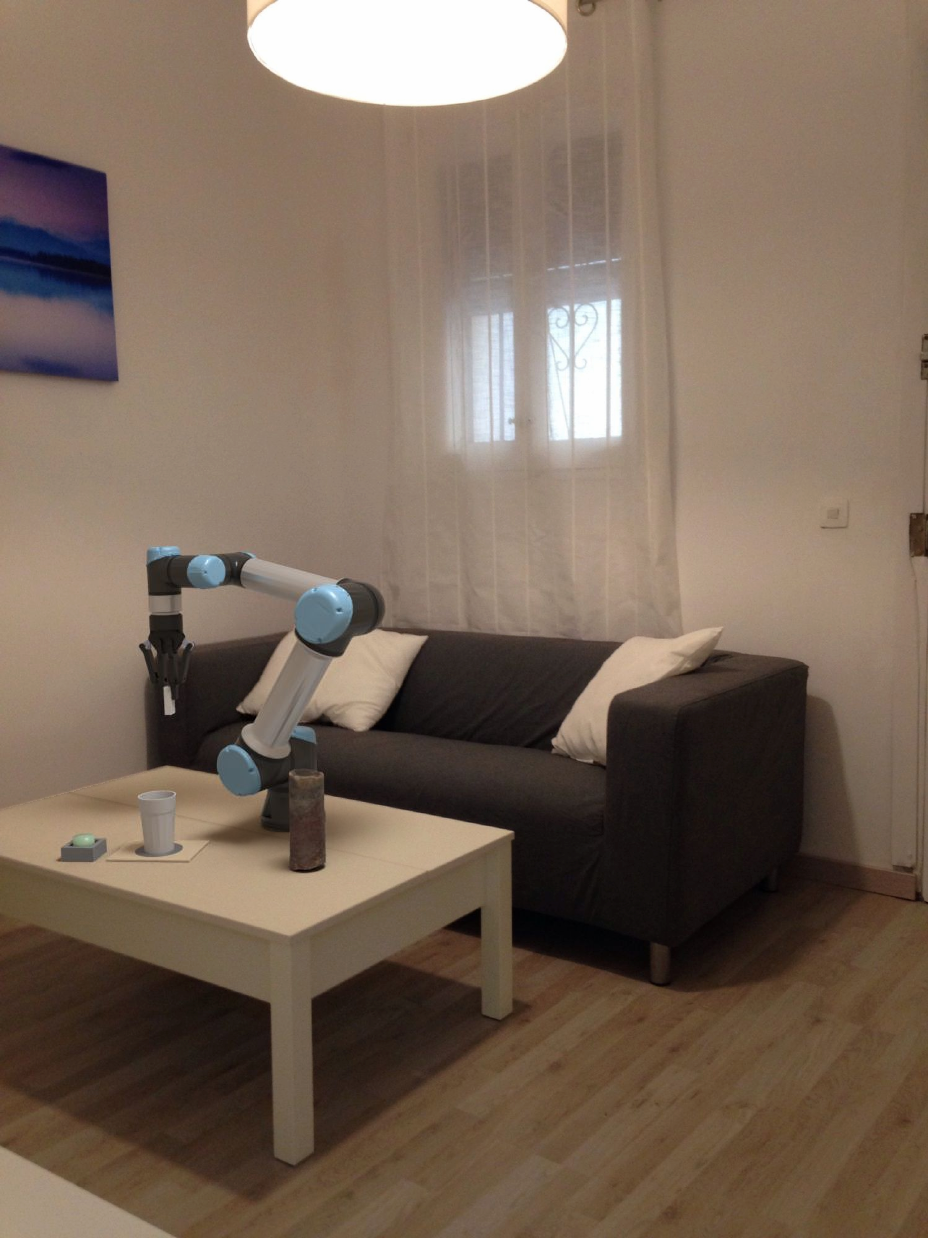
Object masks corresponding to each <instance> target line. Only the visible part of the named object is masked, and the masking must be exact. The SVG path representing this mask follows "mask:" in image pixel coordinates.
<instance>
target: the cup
mask: <svg viewBox="0 0 928 1238" xmlns="http://www.w3.org/2000/svg"><path fill="white" fill-rule="evenodd" d="M137 801H138V802H137V803H138V808H139V813H140V820H141V829H142V837H143V840H144V852H146V853H149V854H161V853H167V852H170V851H172V850H174V840H175V826H176V825H175V824H176V804H177V803H176V801H177V792H175V791H172V790H152V791H146V792H143V793H140V794H139V795H137Z"/></svg>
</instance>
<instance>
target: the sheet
mask: <svg viewBox="0 0 928 1238" xmlns="http://www.w3.org/2000/svg"><path fill="white" fill-rule="evenodd" d="M210 843H211V841H210V840H183V839H182V840H178V839H177V840H175V839H174V850H172V851H170V852H167V853H161V854H149V853H146V852H144V839H131V840H129V841H128V842H127V843H125V844H124V845H122V846H121V847H120V848H119V849H117V850H116V851H115V852H113V853H112V854H111V855H110V856H108V857H107V858H106V859H105V862H122V863H123V862H125V863H127V862H130V863H131V862H133V863H138V862H139V863H141V862H142V863H190V862H192V860H193V859H194V858H195V857H196V856H197V855H198V854H200V852H202V851H203V849H205V848H206V847H207V846H208V845H209V844H210Z"/></svg>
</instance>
